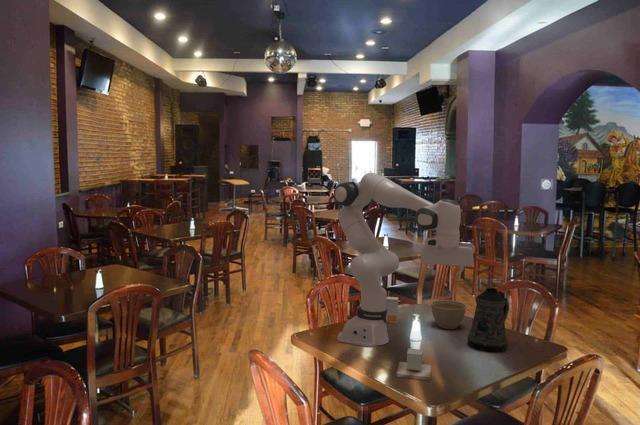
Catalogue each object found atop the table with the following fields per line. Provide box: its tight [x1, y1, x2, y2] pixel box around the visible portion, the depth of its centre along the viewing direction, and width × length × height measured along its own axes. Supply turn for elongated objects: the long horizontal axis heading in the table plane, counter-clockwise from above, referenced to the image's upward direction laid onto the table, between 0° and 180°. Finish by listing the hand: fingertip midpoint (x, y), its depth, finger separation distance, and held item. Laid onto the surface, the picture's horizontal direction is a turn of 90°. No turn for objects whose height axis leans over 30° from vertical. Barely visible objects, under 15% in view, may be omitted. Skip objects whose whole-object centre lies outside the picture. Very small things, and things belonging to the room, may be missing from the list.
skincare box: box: [386, 296, 399, 324], centre depth 259 cm, size 6×4×12 cm
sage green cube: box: [406, 348, 424, 371], centre depth 196 cm, size 5×5×6 cm
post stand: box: [396, 361, 432, 381], centre depth 197 cm, size 12×12×7 cm
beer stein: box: [467, 287, 510, 354], centre depth 228 cm, size 16×19×25 cm
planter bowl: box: [431, 299, 467, 330], centre depth 254 cm, size 16×16×11 cm
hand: (446, 276), depth 207 cm, fingers open, 8 cm apart
